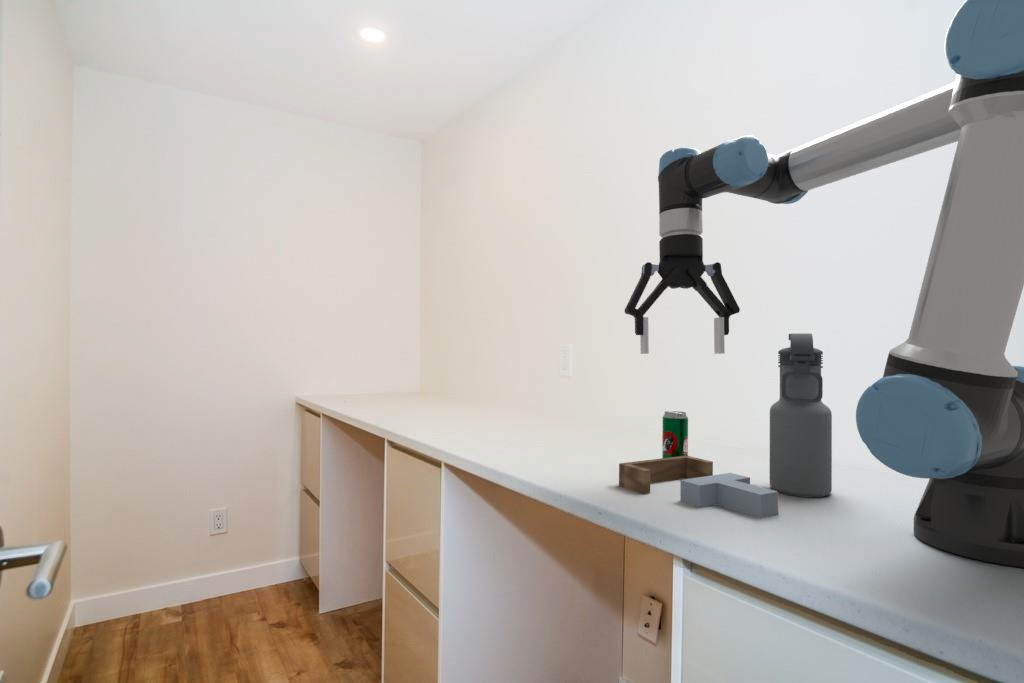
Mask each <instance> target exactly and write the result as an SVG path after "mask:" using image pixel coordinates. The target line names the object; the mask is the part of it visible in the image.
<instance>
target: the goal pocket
mask: <svg viewBox="0 0 1024 683" xmlns="http://www.w3.org/2000/svg"><path fill="white" fill-rule="evenodd" d="M711 475H714V461H712V460H708V459H703V458H699V457H694V456H691V455H688V456H678V457H670V458H662V457H661V458H653V459H645V460H637V461H631V462H629V461H628V462H620V463H618V486H620V487H623V488H625V489H628V490H631V491H634V492H637V493H639V494H642V495H644V494H645V495H647V494H651V484H656V483H662V482H670V481H675V480H684V479H691V478H698V477H704V476H711Z"/></svg>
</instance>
